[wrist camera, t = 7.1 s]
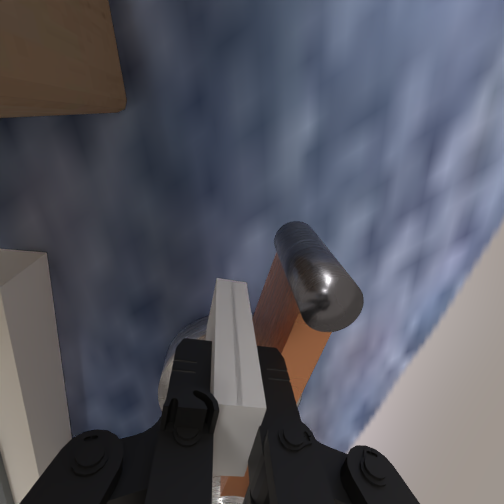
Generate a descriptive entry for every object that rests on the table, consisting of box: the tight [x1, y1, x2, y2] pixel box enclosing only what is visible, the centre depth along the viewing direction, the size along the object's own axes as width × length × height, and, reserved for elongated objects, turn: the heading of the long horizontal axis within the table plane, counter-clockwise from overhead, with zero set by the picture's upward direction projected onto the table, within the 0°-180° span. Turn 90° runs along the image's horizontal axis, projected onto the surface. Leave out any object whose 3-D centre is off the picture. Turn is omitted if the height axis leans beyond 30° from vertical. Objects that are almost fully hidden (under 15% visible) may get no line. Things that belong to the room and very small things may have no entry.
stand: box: [0, 249, 72, 504], centre depth 17 cm, size 22×33×12 cm, turn 83°
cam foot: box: [158, 221, 363, 504], centre depth 16 cm, size 18×10×9 cm, turn 163°
